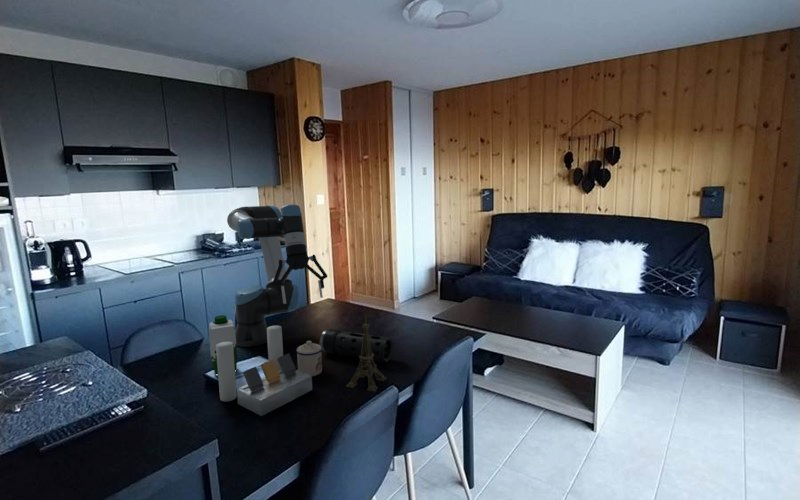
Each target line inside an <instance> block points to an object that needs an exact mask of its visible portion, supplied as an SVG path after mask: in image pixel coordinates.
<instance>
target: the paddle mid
mask: <svg viewBox="0 0 800 500" xmlns="http://www.w3.org/2000/svg"><path fill="white" fill-rule="evenodd" d="M260 367H261V370H262V372H263V375H264V377H266V379H267V382H268V383H269V384H270V383H273V382H275V381H277V380H279V379H281V377H280V374H279V372H278V370H277V367H276V365H275V363H274V361H273V360H271V361H269V360H268V361H266V362H263V363H262V364H260Z"/></svg>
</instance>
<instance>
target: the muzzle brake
mask: <svg viewBox="0 0 800 500" xmlns="http://www.w3.org/2000/svg"><path fill="white" fill-rule="evenodd" d="M369 339H370V345H371V352H372V353H373V354H374V356H373V360H374V362H375V363H382V364H388V362H389V361H390V359H391V357H392V355H393V349H394V342H393V339H392V338H391V337H387V336H379V335H373V334H369ZM362 342H363V333H358V332H352V331H346V330H345V331H344V330H343V331H342V330H341V329H336V328H329V329H325V330H323V331H322V332H321V334H320V337H319V345H320V346H321V347H322V351H324V352H325V353H327V354H334V355H336V354H337V356H339V357H344V358H346V357H348V356H349V357H354V358H358V359H359V360H360V358H359V355H361V351H362Z"/></svg>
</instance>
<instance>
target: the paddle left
mask: <svg viewBox="0 0 800 500" xmlns="http://www.w3.org/2000/svg"><path fill="white" fill-rule="evenodd" d="M242 374H243V377H244V379H245V382H246V385H247V384H248V387H249V389H250V390H251V392H253V391H255V390H257V389H259V388H262V387H263V386H264V385H263V381H262V379H261V378H262V377H261V374H260V373H259V370H258V368H257V366H254V367H252V368H250V369H246V370H244V371H243V372H242Z"/></svg>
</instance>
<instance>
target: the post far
mask: <svg viewBox="0 0 800 500" xmlns="http://www.w3.org/2000/svg"><path fill="white" fill-rule="evenodd" d="M267 327H268V328H267V341H268V342H267V354H268V356H267V357H268V362H269V361H271V360H273V361H274V363H275V365H276V367H277V370H278V371H279V370H282V369H281V367H280V364H279V362H278V360H277V359H278V358H279V357H281V356H284V346H283V330H282V329H283V328H282V326H281V325H270V326H267Z"/></svg>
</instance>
